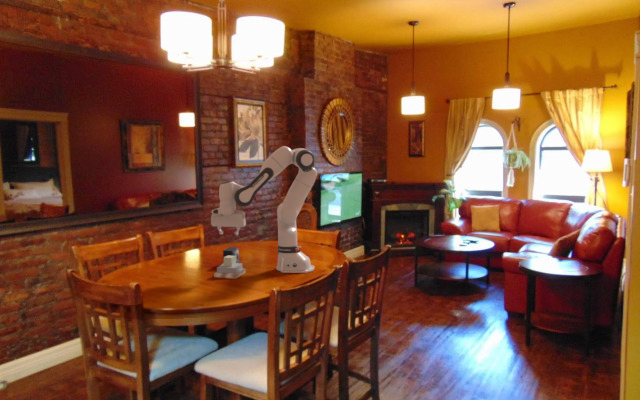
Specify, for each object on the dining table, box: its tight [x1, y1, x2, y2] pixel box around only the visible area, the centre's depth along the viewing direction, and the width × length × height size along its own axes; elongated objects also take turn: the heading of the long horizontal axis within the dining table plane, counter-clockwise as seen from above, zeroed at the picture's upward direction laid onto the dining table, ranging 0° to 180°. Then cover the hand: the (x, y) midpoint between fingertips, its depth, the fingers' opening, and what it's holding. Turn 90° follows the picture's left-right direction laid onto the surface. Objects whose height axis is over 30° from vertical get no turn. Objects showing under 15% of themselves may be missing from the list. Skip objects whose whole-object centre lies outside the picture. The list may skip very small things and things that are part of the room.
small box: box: [222, 246, 240, 264], centre depth 279 cm, size 11×6×10 cm, turn 168°
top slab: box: [216, 262, 244, 273], centre depth 258 cm, size 11×11×3 cm
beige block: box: [224, 255, 236, 267], centre depth 258 cm, size 5×5×5 cm
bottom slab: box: [213, 267, 246, 279], centre depth 259 cm, size 13×13×3 cm
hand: (228, 234), depth 256 cm, fingers open, 8 cm apart
